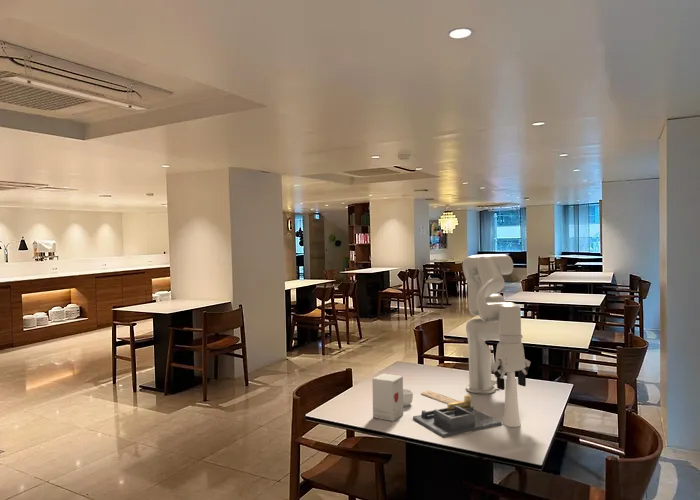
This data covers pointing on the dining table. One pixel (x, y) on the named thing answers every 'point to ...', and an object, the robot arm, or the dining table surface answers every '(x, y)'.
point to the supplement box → (387, 397)
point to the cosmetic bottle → (511, 402)
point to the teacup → (407, 397)
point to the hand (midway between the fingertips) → (511, 387)
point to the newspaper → (438, 397)
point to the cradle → (455, 420)
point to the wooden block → (461, 403)
